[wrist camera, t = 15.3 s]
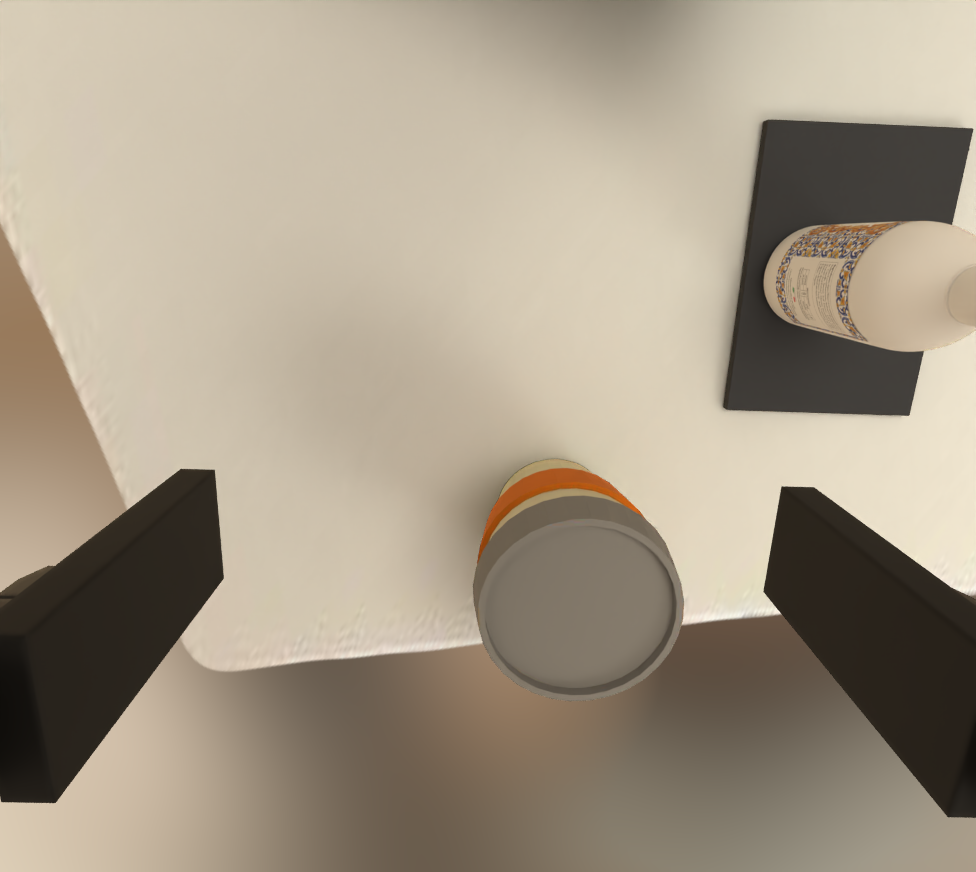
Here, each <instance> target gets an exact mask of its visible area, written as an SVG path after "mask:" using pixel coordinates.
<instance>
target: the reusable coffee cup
mask: <svg viewBox="0 0 976 872" xmlns="http://www.w3.org/2000/svg"><path fill="white" fill-rule="evenodd" d="M473 595H474V606H475V611H476V616H477V621H478V626H479V630H480V634H481V637H482V641H483V644H484V646H485V648H486V650H487V652H488V654H489V656H490V658H491V659H492V661H493V662H494V663H495V664H496V665H497V667H498V668H499V669H500V670H501V671H502V672H503V674H505V675H506V676H507V677H509V678H510V679H511V680H512V681H513V682H515V683H516V684H517V685H519V686H521V687H523V688H525V689H527V690H529V691H531V692H533V693H535V694H538V695H541V696H545V697H548V698H551V699H558V700H566V701H586V700H594V699H599V698H603V697H608V696H611V695H614V694H616V693H619V692H622V691H624V690H627V689H629V688H630V687H632V686H634V685H635V684H637V683H639V682H640V681H642V680H644V679H645V678H646V677H647V676H648V675H649V674H650V673H651V672H653V671H654V670H655V669H656V668H657V667H658V666H659V665H660V664H661V663H662V661H663V660H664V659H665V658H666V656H667V655H668V654H669V653H670V651H671V649H672V647H673V645H674V643H675V641H676V639H677V637H678V635H679V631H680V627H681V624H682V620H683V609H684V598H683V592H682V587H681V582H680V579H679V577H678V574H677V571H676V568H675V566H674V563H673V560H672V558H671V555H670V553H669V550H668V548H667V546H666V543H665V542H664V540H663V539H662V537H661V536H660V535H659V533H658V532H657V530H656V529H655V528H654V527H653V526H652V525H651V524H650V523H649V522H648V521H647V520H646V519H645V518H644V517H643V515H642V514H641V512H640V511H639V510H638V509H637V508H636V507H635V506H634V505H633V504H632V503H631V502H629V501H628V500H627V499H626V498H625V497H624V496H623V495H622V494H621V493H620V492H619V491H618V490H617V489H616V488H614V487H613V486H612V485H611V484H610V483H609V482H607V481H606V480H604V479H602V478H601V477H599V476H597V475H595V474H592V473H591V472H590V471H589V470H588V469H586V468H584V467H582V466H581V465H579V464H576V463H574V462H571V461H567V460H560V459H547V460H542V461H538V462H534V463H532V464H530V465H527V466H525V467H524V468H522V469H521V470H519V471H518V472H516V473H515V474H514V475H513V476H512V477H511V478H510V479H509V480H508V482H507V483H506V485H505V486H504V488H503V489H502V492H501V494H500V497H499V499H498V501H497V502H496V504H495V505H494V507H493V508H492V510H491V513H490V515H489V518H488V520H487V523H486V527H485V530H484V534H483V538H482V541H481V545H480V550H479V555H478V561H477V567H476V571H475V577H474V583H473Z"/></svg>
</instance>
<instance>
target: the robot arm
mask: <svg viewBox="0 0 976 872" xmlns="http://www.w3.org/2000/svg"><path fill="white" fill-rule="evenodd" d="M223 579H224V575H223V563H222V551H221V539H220V527H219V515H218V503H217V491H216V479H215V470H198V469H180V470H179V471H178V472H176V473H175V474H174V475H172V476H171V477H170V478H169V479H167V480H166V481H165V482H163V483H162V484H161V485H159V486H158V487H157V488H156V489H154V490H153V491H152V492H150V493H149V494H148V495H146V496H145V497H144V498H143V499H141V500H140V501H139V502H137V503H136V504H135V505H134V506H132V507H131V508H130V509H128V510H127V511H126V512H124V513H123V514H122V515H121V516H119V517H118V518H117V519H115V520H114V521H113V522H112V523H110V524H109V525H108V526H106V527H105V528H104V529H102V530H101V531H100V532H99V533H97V534H96V535H95V536H93V537H92V538H91V539H89V540H88V541H87V542H86V543H84V544H83V545H82V546H80V547H79V548H78V549H77V550H75V551H74V552H73V553H71V554H70V555H69V556H67V557H66V558H65V559H63V560H62V561H61V562H60V563H58V564H57V565H56V566H47V567H45V568H43V569H41V570H38V571H36V572H34V573H32V574H29V575H27V576H25V577H23V578H20V579H18V580H17V581H15V582H14V583H13V584H11V585H10V586H9V587H7V588H6V589H5V590H3V591H2V592H0V797H1V802H25V803H56V802H57V800H58V799H59V798H60V796H61V795H62V794H63V792H64V791H65V789H66V788H67V787H68V786H69V784H70V783H71V782H72V780H73V779H74V778H75V776H76V775H77V774H78V772H79V771H80V770H81V768H82V767H83V766H84V764H85V763H86V762H87V760H88V759H89V758H90V756H91V755H92V753H93V752H94V751H95V750H96V748H97V747H98V745H99V744H100V743H101V742H102V740H103V739H104V738H105V736H106V735H107V734H108V732H109V731H110V729H111V728H112V727H113V725H114V724H115V723H116V722H117V720H118V719H119V718H120V716H121V715H122V713H123V712H124V711H125V709H126V708H127V707H128V706H129V704H130V703H131V702H132V700H133V699H134V697H135V696H136V695H137V693H138V692H139V691H140V689H141V688H142V687H143V686H144V684H145V683H146V682H147V680H148V679H149V678H150V676H151V675H152V673H153V672H154V671H155V669H156V668H157V667H158V665H159V664H160V663H161V661H162V660H163V659H164V657H165V656H166V655H167V653H168V652H169V651H170V649H171V648H172V647H173V645H174V644H175V643H176V641H177V640H178V639H179V637H180V636H181V635H182V633H183V632H184V631H185V629H186V628H187V627H188V625H189V624H190V623H191V621H192V620H193V619H194V617H195V616H196V615H197V613H198V612H199V611H200V609H201V608H202V607H203V605H204V604H205V603H206V601H207V600H208V599H209V597H210V596H211V595H212V593H213V592H214V591H215V589H216V588H217V587H218V585H219V584H220V583H221V581H222V580H223ZM763 592H764V593H765V594H766V595H767V597H768V598H769V599H770V600H771V602H772V603H773V604H774V605H775V606H776V608H777V609H778V610H779V611H780V613H781V614H782V615H783V616H784V617H785V619H786V620H787V621H788V622H789V624H790V625H791V626H792V627H793V628H794V629H795V631H796V632H797V633H798V635H799V636H800V637H801V638H802V639H803V641H804V642H805V643H806V644H807V645H808V647H809V648H810V649H811V650H812V652H813V653H814V654H815V655H816V657H817V658H818V659H819V660H820V661H821V663H822V664H823V665H824V666H825V668H826V669H827V670H828V671H829V672H830V674H831V675H832V676H833V677H834V679H835V680H836V681H837V682H838V683H839V685H840V686H841V687H842V688H843V690H844V691H845V692H846V693H847V694H848V696H849V697H850V698H851V699H852V701H854V703H855V704H856V705H857V707H858V708H859V709H860V710H861V712H862V713H863V714H864V715H865V716H866V718H867V719H868V720H869V721H870V723H871V724H872V725H873V726H874V727H875V729H876V730H877V731H878V732H879V733H880V734H881V736H882V737H883V738H884V739H885V741H886V742H887V743H888V744H889V746H890V747H891V748H892V749H893V751H894V752H895V753H896V754H897V755H898V757H899V758H900V759H901V760H902V762H903V763H904V764H905V765H906V766H907V768H908V769H909V770H910V771H911V773H912V774H913V775H914V776H915V777H916V779H917V780H918V781H919V782H920V783H921V785H922V786H923V787H924V788H925V790H926V791H927V792H928V793H929V795H930V796H931V797H932V798H933V799H934V801H935V802H936V803H937V804H938V806H939V807H940V808H941V809H942V810H943V811H944V813H945V814H946V815H947V817H972V818H976V599H974V598H972V597H970V596H968V595H966V594H964V593H961V592H959V591H957V590H955V589H953V588H951V587H950V586H948V585H947V584H946V583H944V582H943V581H941V580H940V579H939V578H937V577H936V576H935V575H933V574H932V573H930V572H929V571H928V570H926V569H925V568H924V567H922V566H921V565H919V564H918V563H917V562H915V561H914V560H913V559H911V558H910V557H909V556H907V555H906V554H904V553H903V552H902V551H900V550H899V549H898V548H896V547H895V546H893V545H892V544H891V543H889V542H888V541H887V540H885V539H884V538H882V537H881V536H880V535H878V534H877V533H876V532H874V531H873V530H872V529H870V528H869V527H867V526H866V525H865V524H863V523H862V522H861V521H859V520H858V519H856V518H855V517H854V516H852V515H851V514H850V513H848V512H847V511H845V510H844V509H843V508H841V507H840V506H839V505H837V504H836V503H835V502H833V501H832V500H830V499H829V498H828V497H826V496H825V495H824V494H822V493H821V492H819V491H818V490H817V489H815V488H814V487H781V493H780V499H779V505H778V510H777V516H776V522H775V528H774V534H773V539H772V545H771V551H770V557H769V563H768V568H767V574H766V580H765V586H764V591H763Z"/></svg>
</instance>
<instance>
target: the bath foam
mask: <svg viewBox="0 0 976 872" xmlns="http://www.w3.org/2000/svg"><path fill="white" fill-rule="evenodd" d="M764 292H765V296H766V299H767V301H768V303H769V305H770V307H771V308H772V310H773V311H774V312H775V313H776V314H777V315H778V316H779V317H780V318H782V319H783V320H785V321H787V322H789V323H791V324H794V325H797V326H801V327H805V328H809V329H812V330H816V331H820V332H824V333H827V334H831V335H835V336H839V337H842V338H846V339H850V340H854V341H857V342H861V343H865V344H869V345H872V346H876V347H880V348H884V349H888V350H894V351H903V352H916V351H926V350H932V349H937V348H940V347H944V346H947V345H950V344H952V343H954V342H957V341H959V340H961V339H962V338H964V337H966V336H968V335H969V334H971V333H972V332H974V331H975V330H976V236H975V235H973V234H972V233H970V232H968V231H966V230H964V229H962V228H959V227H957V226H953V225H950V224H946V223H941V222H934V221H926V220H921V221H898V222H875V223H853V224H831V225H817V226H810V227H806V228H803V229H800V230H798V231H796V232H794V233H792V234H791V235H789V236H788V237H787V238H785V239H784V240H783V241H782V242H781V243H780V244H779V245H778V246H777V247H776V249H775V250H774V252H773V253H772V255H771V257H770V259H769V261H768V264H767V267H766V270H765V274H764Z"/></svg>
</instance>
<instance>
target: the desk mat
mask: <svg viewBox="0 0 976 872" xmlns="http://www.w3.org/2000/svg"><path fill="white" fill-rule="evenodd" d="M972 133H973V129H972V128H949V127H927V126H904V125H881V124H859V123H836V122H813V121H791V120H767V121H764V123H763V130H762V137H761V145H760V152H759V159H758V166H757V173H756V180H755V187H754V194H753V201H752V208H751V215H750V222H749V230H748V237H747V244H746V251H745V258H744V265H743V272H742V279H741V286H740V293H739V300H738V307H737V315H736V322H735V329H734V336H733V343H732V350H731V357H730V364H729V371H728V378H727V385H726V392H725V400H724V408H725V409H727V410H749V411H780V412H811V413H842V414H873V415H904V416H909V415H910V410H911V406H912V401H913V397H914V392H915V388H916V383H917V379H918V374H919V370H920V365H921V361H922V357H923V352H924V351H916V352H903V351H894V350H888V349H884V348H880V347H876V346H872V345H869V344H865V343H861V342H857V341H854V340H850V339H846V338H842V337H839V336H835V335H831V334H827V333H824V332H820V331H816V330H812V329H809V328H805V327H801V326H797V325H794V324H791V323H789V322H787V321H785V320H783V319H782V318H780V317H779V316H778V315H777V314H776V313H775V312H774V311H773V310H772V308H771V307H770V305H769V303H768V301H767V299H766V296H765V292H764V274H765V270H766V267H767V264H768V261H769V259H770V257H771V255H772V253H773V252H774V250H775V249H776V247H777V246H778V245H779V244H780V243H781V242H782V241H783V240H784V239H785V238H787V237H788V236H789V235H791V234H792V233H794V232H796V231H798V230H800V229H803V228H806V227H810V226H817V225H831V224H853V223H875V222H898V221H921V220H926V221H934V222H941V223H946V224H950V225H952V222H953V218H954V213H955V209H956V204H957V200H958V195H959V191H960V186H961V182H962V177H963V173H964V168H965V164H966V159H967V155H968V151H969V146H970V142H971V137H972Z"/></svg>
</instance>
